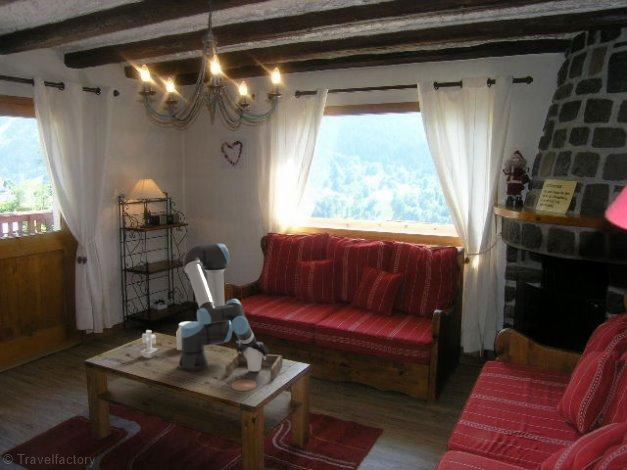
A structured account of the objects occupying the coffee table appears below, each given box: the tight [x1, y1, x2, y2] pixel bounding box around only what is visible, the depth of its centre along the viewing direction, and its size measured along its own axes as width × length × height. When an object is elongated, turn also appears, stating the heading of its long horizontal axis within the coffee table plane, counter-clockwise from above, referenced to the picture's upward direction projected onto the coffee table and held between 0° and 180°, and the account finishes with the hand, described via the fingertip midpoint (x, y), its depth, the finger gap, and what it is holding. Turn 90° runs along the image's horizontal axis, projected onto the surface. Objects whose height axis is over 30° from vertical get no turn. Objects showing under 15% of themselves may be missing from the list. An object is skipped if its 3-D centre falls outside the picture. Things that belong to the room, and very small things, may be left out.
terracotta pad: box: [231, 378, 257, 392], centre depth 246 cm, size 12×12×1 cm
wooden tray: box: [225, 351, 283, 381], centre depth 263 cm, size 18×25×6 cm
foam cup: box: [245, 348, 262, 372], centre depth 261 cm, size 10×9×13 cm
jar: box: [175, 321, 191, 351], centre depth 295 cm, size 12×10×15 cm
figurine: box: [140, 329, 160, 359], centre depth 282 cm, size 7×9×15 cm
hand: (256, 356), depth 265 cm, fingers closed on foam cup, 9 cm apart
